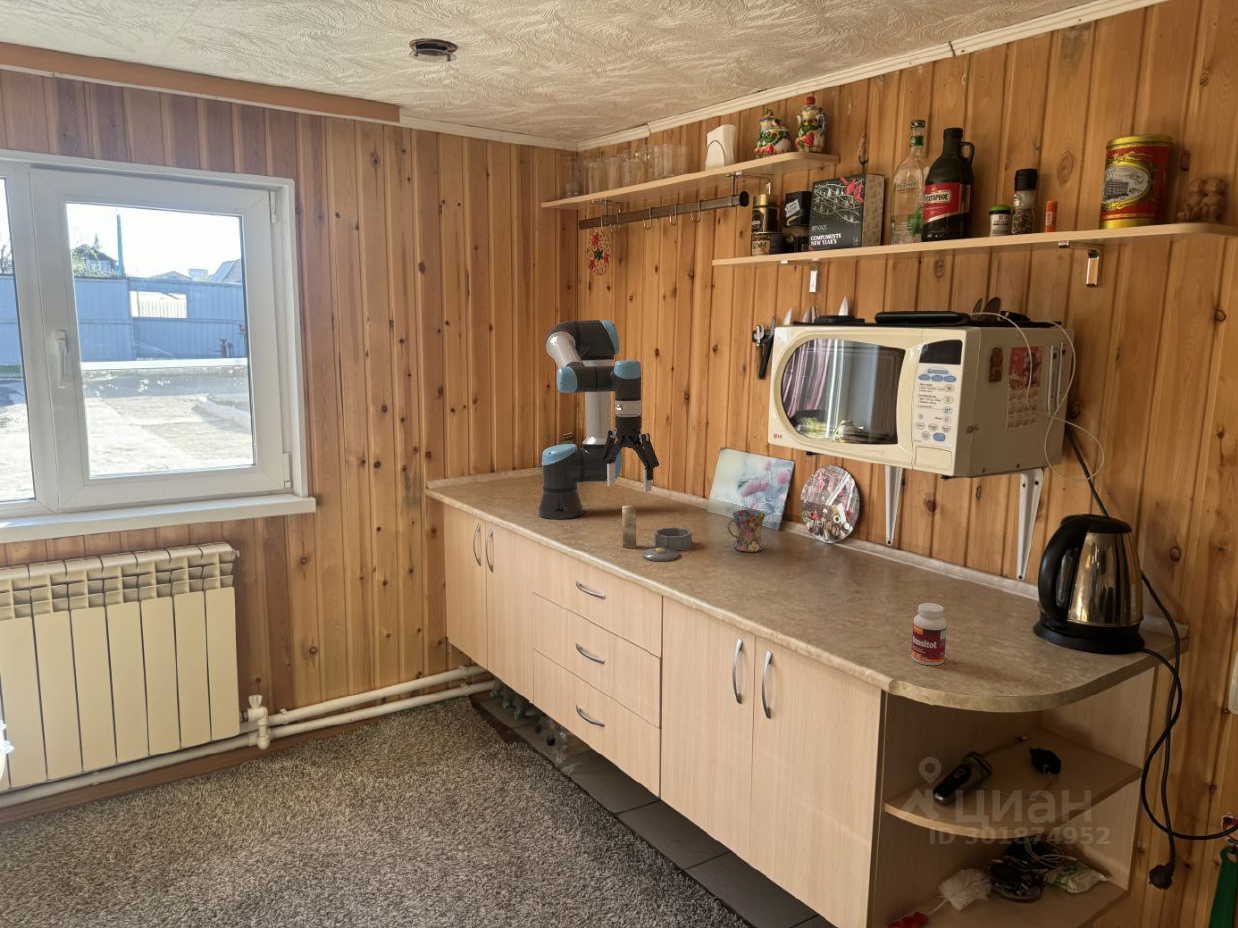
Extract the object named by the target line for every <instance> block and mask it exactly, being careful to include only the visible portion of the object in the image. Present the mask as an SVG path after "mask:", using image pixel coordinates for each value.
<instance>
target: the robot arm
mask: <svg viewBox="0 0 1238 928" xmlns="http://www.w3.org/2000/svg"><path fill="white" fill-rule="evenodd" d="M544 347H545V350H546V352H547V354H548V355H549V356H550V358H552V359H554V362H555V364H556V366H557V368H558V369H557V371H556V384H557V389H558V392H559V393H562V394H563V393H565V394H566V393H567V394H576V393H577V394H579V393H581V394H582V393H584V394H585V396H584V398H585V431H586V436H585V439H584V440H583V441H582V442H581V443H582V444H581V445H582V446H581V447H582V448H581V447H580V448H578V446H577V444H574V443H569V444H568V443H567V444H566V443H563V444H558V445H552V446H549V447H547V448H545V449H544V450H543V451H542V455H541V456H542V457H541V458H542V459H541V465H542V466H541V467H542V495H541V498H540V503H539V504H540V505H539V506H538V516H539V517H541V518H544V519H550V520H566V519H573V518H578V517H581V516H583V514H584V506H583V504H582V502H581V498H580V494H579V490H578V484H581V483H582V484H583V483H598V482H600V483H601V482H603V483H607V485H606V486H607V487H612V486H616V480H617V479H618V478H619V476H620V474H621V471H622V466H623V451H622V450H623V448H628V449H632V450H633V451H634V452H635V454H636V455H637V456H638V458H639V459H640V461H641V463H642V464H643V466H644V468H643V469H642V470H643V472H642V476H643V479H642V482H643V483H642V484H643V486H642V487H643V488H642V489H643V493H648V492H651V491H652V490H653V489H652V487H653V485H652V480H654V468H657V467H658V468H659V466H660V463H659V460H658V456H657V454H656V451H655V449H654V447H653V444H652V441H651V434H650V433H649V432H647V433H641V429H642V426H643V424H642V420H643V419H642V416H641V414H642V411H643V410H642V407H643V406H642V375H643V372H642V365H641V362H640V361H639V360H635V359H634V360H633V359H622V360H621V359H620V360H617V361H615V357H616V356H617V355H619V353H620V339H619V334H618V330H617V328H616V325H615V323H614V322H613V321H612V320H607V319H606V320H605V319H592V320H591V319H590V320H584V319H583V320H565V321H562V322H560V323H558V324H556V325H555V326H553V327H552V328H551V329H550V330H549V332H548V333H547V335H546V337H545V341H544ZM613 362H614V364H613ZM612 364H613V365H612ZM611 392H614V401H615V402H614V413H615V417H614V427H615V429H613V428H612V399H611V398H612V397H611V394H612V393H611ZM616 439H617V440H616Z"/></svg>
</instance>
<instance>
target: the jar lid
mask: <svg viewBox="0 0 1238 928" xmlns="http://www.w3.org/2000/svg"><path fill="white" fill-rule="evenodd" d="M641 554H642V558H643V559H644V560H646V561H650V562H670V561H673V560H677V559H678V558H679V552H678V550H673V549H668V548H655V547H653V548H652V547H651V548H649V549H645V550H643V551H642V553H641Z"/></svg>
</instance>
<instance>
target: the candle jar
mask: <svg viewBox="0 0 1238 928" xmlns="http://www.w3.org/2000/svg"><path fill="white" fill-rule="evenodd" d="M691 531H692V530H690V529H688V528H683V527H676V526H675V527H661V528H658V529H655V530H653V545H654V548H668V549H673V550H676V551H685V550H688V549H690V548H692V546H693V533H692V532H691Z"/></svg>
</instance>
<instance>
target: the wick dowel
mask: <svg viewBox="0 0 1238 928" xmlns="http://www.w3.org/2000/svg"><path fill="white" fill-rule="evenodd" d="M621 508H622V509H621V510H622V511H621V516H622V520H621V522H622V523H621V524H622V525H621V526H622V548H623V549H627V550H628V549H629V550H631V549H636V548H637V506H636V505H632V504H631V505H629V504H627V505H623V506H622V507H621Z"/></svg>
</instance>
